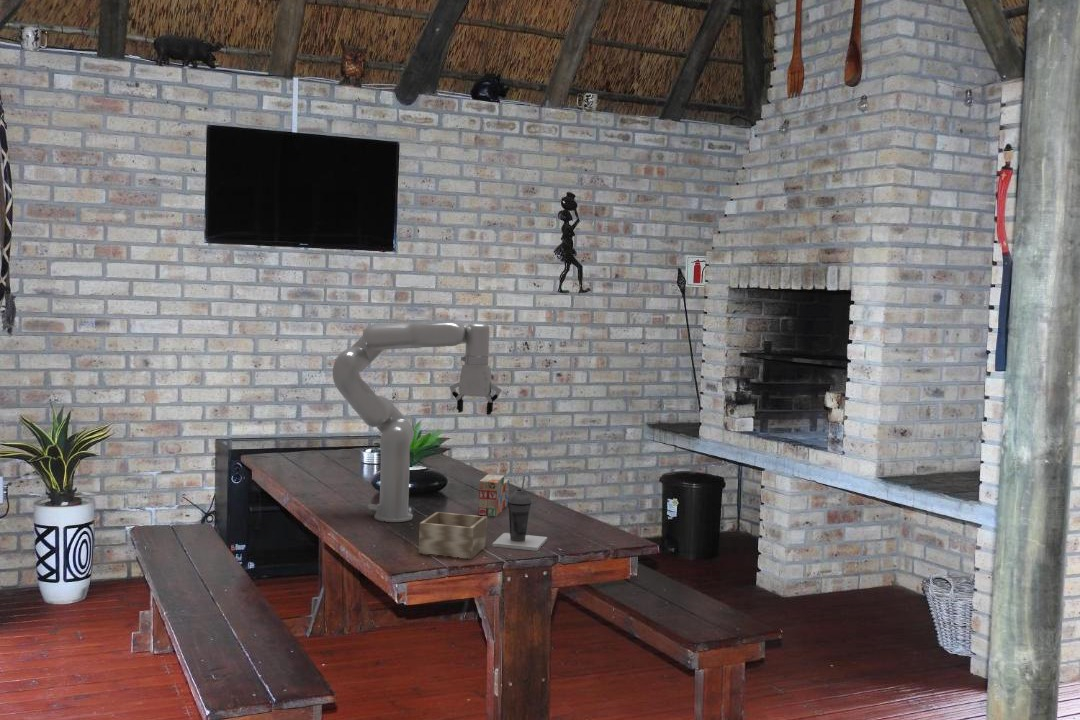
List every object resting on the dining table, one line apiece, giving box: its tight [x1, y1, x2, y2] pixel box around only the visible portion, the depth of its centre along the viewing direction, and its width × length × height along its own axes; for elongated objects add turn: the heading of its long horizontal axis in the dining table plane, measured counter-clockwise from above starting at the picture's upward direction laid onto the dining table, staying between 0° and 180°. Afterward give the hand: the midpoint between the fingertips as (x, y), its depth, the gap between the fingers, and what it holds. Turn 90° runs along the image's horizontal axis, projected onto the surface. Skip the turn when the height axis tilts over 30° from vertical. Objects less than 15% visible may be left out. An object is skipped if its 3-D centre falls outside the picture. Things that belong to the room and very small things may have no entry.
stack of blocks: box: [477, 474, 510, 517], centre depth 377 cm, size 21×6×12 cm, turn 170°
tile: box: [492, 532, 548, 552], centre depth 333 cm, size 14×14×1 cm
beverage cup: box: [507, 475, 532, 542], centre depth 332 cm, size 7×7×20 cm
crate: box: [418, 511, 488, 560], centre depth 321 cm, size 16×16×9 cm
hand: (474, 413), depth 355 cm, fingers open, 9 cm apart
